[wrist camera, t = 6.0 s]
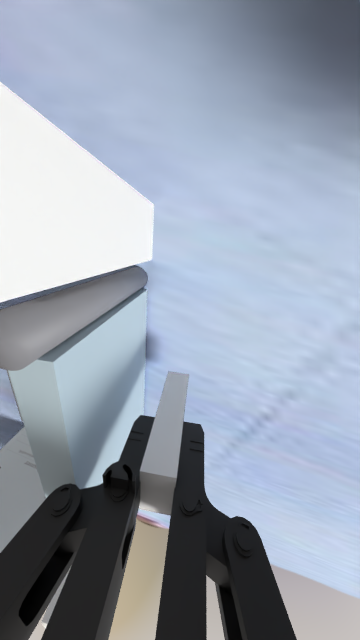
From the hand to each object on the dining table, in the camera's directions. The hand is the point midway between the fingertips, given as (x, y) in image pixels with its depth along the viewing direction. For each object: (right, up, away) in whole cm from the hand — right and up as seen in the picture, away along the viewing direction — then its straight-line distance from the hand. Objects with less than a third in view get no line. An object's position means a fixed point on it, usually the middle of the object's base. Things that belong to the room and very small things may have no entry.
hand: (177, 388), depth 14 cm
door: (-4, +2, +3) cm, 6 cm away
